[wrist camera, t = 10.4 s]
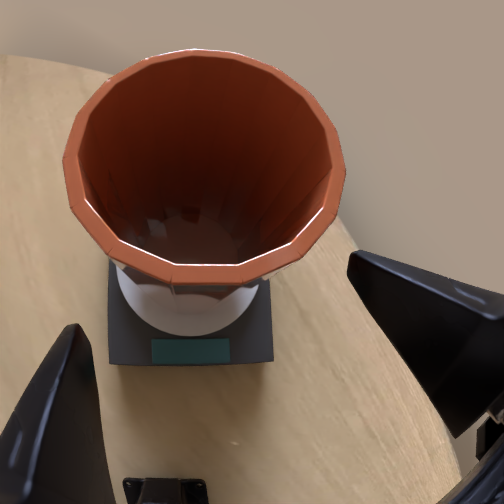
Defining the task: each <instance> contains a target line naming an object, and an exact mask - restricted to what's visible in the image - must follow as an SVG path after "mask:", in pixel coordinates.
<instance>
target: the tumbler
mask: <svg viewBox="0 0 504 504" xmlns="http://www.w3.org/2000/svg"><path fill="white" fill-rule="evenodd" d="M62 163H63V170H64V177H65V183H66V189H67V194H68V200H69V205H70V209H71V210H72V213H73V214H74V215H75V217H76V218H77V219H78V221H79V222H80V223H81V224H82V226H83V227H84V228H85V230H86V231H87V232H88V233H89V235H90V236H91V237H92V238H93V239H94V241H95V242H96V243H97V244H98V246H99V247H100V248H101V249H102V250H103V252H104V253H105V254H106V255H107V256H108V257H109V258H110V259H111V260H112V261H113V262H114V263H115V264H116V265H117V266H118V267H119V268H120V269H121V270H122V271H123V272H124V273H125V274H126V275H127V276H128V277H129V278H130V279H131V280H132V281H133V282H134V283H135V284H136V285H137V286H138V287H139V288H140V289H141V290H142V291H143V292H144V293H145V294H146V295H147V296H149V297H150V298H151V299H152V300H153V301H154V302H155V303H156V304H157V305H159V306H160V307H162V308H165V309H167V310H169V311H171V312H174V313H177V314H180V315H201V314H204V313H207V312H209V311H212V310H214V309H216V308H218V307H221V306H223V305H224V304H226V303H228V302H229V301H231V300H233V299H235V298H236V297H238V296H240V295H242V294H243V293H245V292H247V291H248V290H250V289H252V288H253V287H255V286H257V285H259V284H260V283H262V282H264V281H265V280H267V279H269V278H270V277H272V276H274V275H275V274H277V273H279V272H280V271H282V270H284V269H285V268H287V267H289V266H290V265H292V264H294V263H295V262H297V261H299V260H300V259H301V258H303V257H304V256H305V254H306V253H307V252H308V251H309V250H310V249H311V247H312V246H313V245H314V244H315V243H316V241H317V240H318V239H319V238H320V237H321V236H322V234H323V233H324V232H325V231H326V230H327V228H328V227H329V226H330V225H331V224H332V222H333V221H334V220H335V218H336V216H337V212H338V207H339V204H340V199H341V194H342V190H343V186H344V181H345V176H346V168H345V163H344V159H343V154H342V150H341V145H340V141H339V137H338V133H337V131H336V128H335V127H334V125H333V123H332V122H331V120H330V119H329V118H328V116H327V115H326V113H325V112H324V110H323V109H322V107H321V106H320V105H319V103H318V102H317V100H316V99H315V97H314V96H313V95H312V94H311V93H310V92H309V91H307V90H306V89H304V88H303V87H302V86H301V85H300V84H298V83H297V82H296V81H294V80H293V79H291V78H290V77H289V76H288V75H286V74H285V73H283V72H282V71H281V70H279V69H277V68H276V67H273V66H271V65H268V64H266V63H263V62H261V61H257V60H255V59H252V58H250V57H247V56H244V55H241V54H238V53H234V52H225V51H215V50H201V49H192V50H191V49H188V50H182V51H177V52H171V53H167V54H162V55H157V56H153V57H148V58H146V59H144V60H142V61H140V62H138V63H136V64H134V65H132V66H130V67H128V68H127V69H125V70H123V71H121V72H119V73H118V74H116V75H114V76H112V77H111V78H109V79H108V80H107V81H105V82H104V83H103V84H102V86H101V87H100V88H99V89H98V90H97V91H96V92H95V93H94V94H93V95H92V97H91V98H90V99H89V100H88V101H87V102H86V103H85V105H84V106H83V107H82V108H81V109H80V111H79V112H78V113H77V115H76V117H75V120H74V123H73V126H72V129H71V132H70V135H69V138H68V141H67V144H66V147H65V151H64V154H63V160H62Z"/></svg>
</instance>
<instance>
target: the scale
mask: <svg viewBox="0 0 504 504" xmlns="http://www.w3.org/2000/svg"><path fill="white" fill-rule="evenodd" d="M108 348H109V364H114V365H135V366H212V365H233V364H248V363H261V362H272V361H274V355H273V336H272V317H271V299H270V282H269V279H267V280H265V281H264V282H262V283H260V284H259V285H257V286H255V287H253V288H252V289H250V290H248V291H247V292H245V293H243V294H242V295H240V296H238V297H236V298H235V299H233V300H231V301H229V302H228V303H226V304H224V305H223V306H221V307H218V308H216V309H214V310H212V311H209V312H207V313H204V314H201V315H180V314H177V313H174V312H171V311H169V310H167V309H165V308H162V307H160V306H159V305H157V304H156V303H155V302H154V301H153V300H152V299H151V298H150V297H149V296H147V295H146V294H145V293H144V292H143V291H142V290H141V289H140V288H139V287H138V286H137V285H136V284H135V283H134V282H133V281H132V280H131V279H130V278H129V277H128V276H127V275H126V274H125V273H124V272H123V271H122V270H121V269H120V268H119V267H118V266H117V265H116V264H115V263H114V262H113V261H112V260H111V259H110V258H109V276H108Z"/></svg>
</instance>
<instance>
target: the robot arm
mask: <svg viewBox="0 0 504 504" xmlns="http://www.w3.org/2000/svg"><path fill="white" fill-rule="evenodd" d="M347 277H348V279H349V281H350V282H351V284H352V285H353V287H354V289H355V290H356V292H357V294H358V295H359V297H360V299H361V300H362V302H363V304H364V305H365V307H366V308H367V310H368V312H369V313H370V314H371V316H372V317H373V319H374V320H375V321H376V323H377V324H378V325H379V327H380V328H381V329H382V331H383V332H384V334H385V335H386V336H387V338H388V339H389V341H390V342H391V343H392V345H393V346H394V348H395V349H396V350H397V352H398V353H399V355H400V356H401V358H402V359H403V360H404V362H405V363H406V365H407V366H408V368H409V369H410V371H411V372H412V373H413V375H414V376H415V378H416V379H417V381H418V382H419V384H420V385H421V387H422V388H423V390H424V391H425V393H426V394H427V396H428V397H429V399H430V401H431V402H432V404H433V405H434V407H435V409H436V410H437V412H438V413H439V415H440V416H441V418H442V420H443V421H444V423H445V424H446V426H447V428H448V429H449V431H450V433H451V434H452V436H453V437H454V438H455V439H456V438H457V437H459V436H460V435H461V434H462V433H463V432H465V431H466V430H467V429H468V428H469V427H470V426H471V425H473V424H474V423H475V422H476V421H477V420H478V419H479V418H480V417H481V416H482V415H483V414H484V413H485V412H487V413H488V414H489V415H490V416H489V417H488V418H487V419H486V420H485V421H484V423H483V424H482V425H481V426H480V427H479V428H478V429H477V443H476V458H477V459H478V460H479V462H478V463H477V464H476V466H475V467H474V468H473V469H472V470H471V471H470V472H469V473H468V474H467V475H466V476H465V477H464V478H463V479H462V480H461V481H460V482H459V483H458V484H457V485H456V486H455V487H454V488H453V489H452V490H451V491H450V492H449V493H448V494H447V495H445V496H444V497H443V498H442V499H441V500H440V501H439V502H438V503H436V504H504V295H503V294H500V293H496V292H492V291H489V290H485V289H482V288H479V287H475V286H472V285H468V284H465V283H462V282H459V281H456V280H453V279H450V278H449V279H448V278H447V277H444V276H441V275H438V274H435V273H432V272H429V271H426V270H423V269H420V268H417V267H414V266H411V265H408V264H404V263H401V262H398V261H395V260H392V259H389V258H386V257H382V256H379V255H376V254H373V253H370V252H366V251H363V250H358V251H355V252H352V253H351V254H350V256H349V262H348V268H347ZM14 410H15V411H13V413H12V415H11V417H10V418H9V420H8V422H7V424H6V426H5V428H4V430H3V432H2V434H1V435H0V504H116V501H115V497H114V493H113V489H112V484H111V480H110V475H109V470H108V464H107V459H106V453H105V446H104V439H103V432H102V424H101V415H100V404H99V394H98V387H97V381H96V375H95V369H94V362H93V355H92V348H91V344H90V342H89V340H88V338H87V337H86V335H85V333H84V331H83V329H82V328H81V326H80V325H79V324H77V323H75V324H71V325H67V326H66V327H65V328H64V329H63V331H62V332H61V334H60V335H59V337H58V338H57V340H56V341H55V343H54V344H53V346H52V347H51V349H50V350H49V352H48V353H47V355H46V357H45V358H44V360H43V361H42V363H41V364H40V366H39V368H38V369H37V371H36V373H35V374H34V376H33V377H32V379H31V381H30V383H29V384H28V386H27V388H26V389H25V391H24V393H23V395H22V396H21V398H20V400H19V402H18V404H17V405H16V407H15V409H14ZM126 482H129V483H131V484H132V485H129V484H127V483H126ZM197 484H202V486H197ZM123 488H124V492H125V495H126V499H127V503H128V504H209V502H208V495H207V488H206V483H205V481H204V480H201V479H186V480H179V479H177V478H145V479H140V478H125V479H124V480H123Z"/></svg>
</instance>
